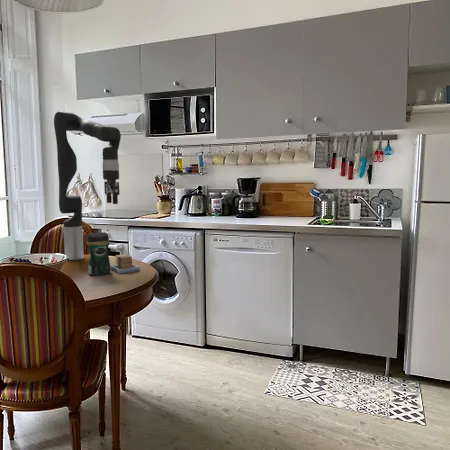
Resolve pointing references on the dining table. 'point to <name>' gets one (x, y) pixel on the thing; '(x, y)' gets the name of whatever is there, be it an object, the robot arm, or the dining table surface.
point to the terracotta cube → (117, 258)
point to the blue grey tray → (134, 268)
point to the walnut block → (124, 262)
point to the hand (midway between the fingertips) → (112, 203)
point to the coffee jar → (98, 253)
